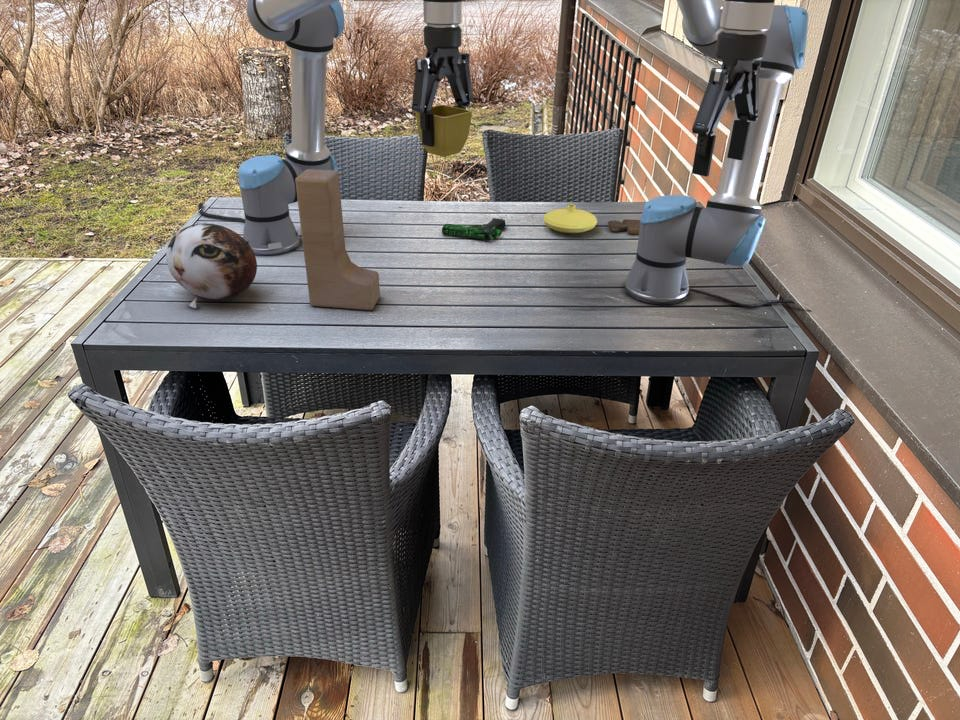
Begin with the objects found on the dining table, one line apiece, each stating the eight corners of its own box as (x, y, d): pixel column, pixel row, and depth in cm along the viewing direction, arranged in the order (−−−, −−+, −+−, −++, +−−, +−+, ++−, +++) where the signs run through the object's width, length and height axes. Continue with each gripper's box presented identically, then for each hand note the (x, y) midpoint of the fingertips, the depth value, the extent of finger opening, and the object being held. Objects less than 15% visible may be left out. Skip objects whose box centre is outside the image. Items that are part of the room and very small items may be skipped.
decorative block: (372, 311, 163) (363, 181, 148) (309, 306, 165) (293, 177, 149) (380, 297, 169) (373, 171, 154) (319, 292, 171) (306, 168, 156)
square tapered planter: (472, 153, 154) (473, 110, 149) (444, 161, 148) (444, 117, 144) (443, 146, 159) (442, 104, 154) (415, 153, 153) (413, 110, 149)
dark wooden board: (699, 237, 207) (691, 225, 216) (700, 231, 206) (692, 220, 215) (610, 234, 207) (606, 222, 216) (611, 228, 207) (607, 217, 215)
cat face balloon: (130, 285, 161) (164, 203, 163) (192, 308, 177) (221, 233, 178) (195, 307, 151) (229, 220, 152) (254, 330, 166) (285, 250, 168)
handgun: (511, 219, 210) (493, 234, 198) (511, 228, 211) (492, 244, 199) (461, 212, 215) (440, 226, 203) (461, 221, 217) (440, 236, 204)
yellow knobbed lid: (559, 216, 220) (561, 193, 217) (605, 227, 212) (608, 204, 209) (532, 230, 209) (533, 207, 206) (580, 242, 201) (582, 218, 198)
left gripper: (465, 19, 150) (464, 130, 162) (389, 27, 136) (394, 147, 148) (492, 22, 146) (489, 135, 157) (416, 31, 132) (420, 154, 143)
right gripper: (752, 23, 122) (728, 149, 133) (683, 35, 106) (663, 177, 117) (796, 27, 118) (768, 156, 129) (731, 40, 102) (705, 186, 113)
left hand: (443, 141), depth 152 cm, fingers closed on square tapered planter, 9 cm apart
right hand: (718, 166), depth 123 cm, fingers open, 13 cm apart
